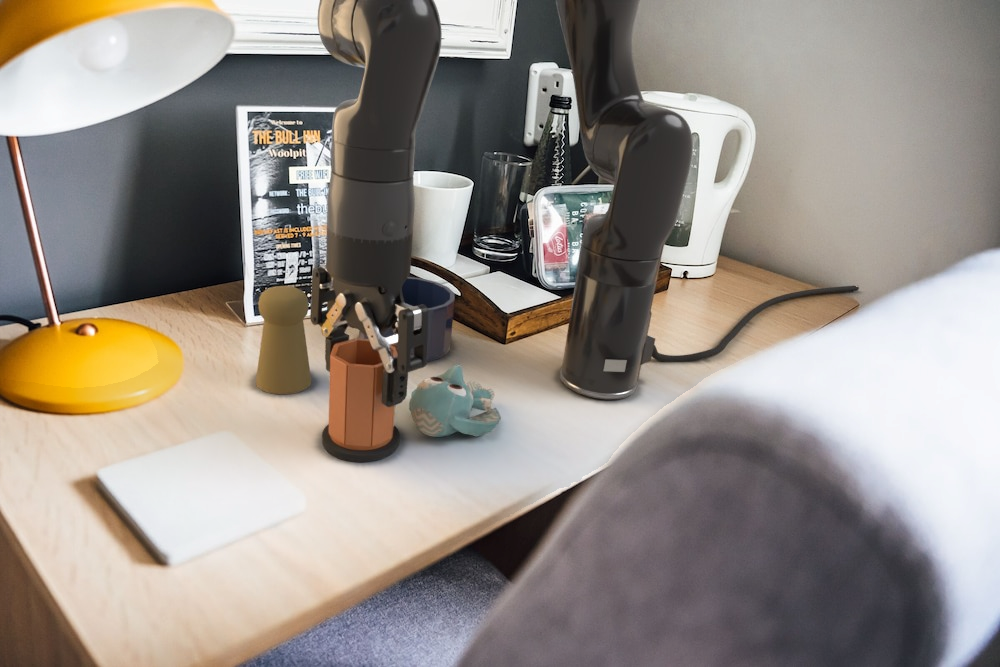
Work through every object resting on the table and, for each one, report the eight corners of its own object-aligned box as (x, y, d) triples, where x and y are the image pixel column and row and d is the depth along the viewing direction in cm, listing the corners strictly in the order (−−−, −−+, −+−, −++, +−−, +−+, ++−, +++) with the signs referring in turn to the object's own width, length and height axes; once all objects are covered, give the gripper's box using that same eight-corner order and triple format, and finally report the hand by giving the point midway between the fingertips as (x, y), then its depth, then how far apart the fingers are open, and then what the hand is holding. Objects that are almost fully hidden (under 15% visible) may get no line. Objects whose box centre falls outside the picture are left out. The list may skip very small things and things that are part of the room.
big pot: (408, 318, 107) (412, 271, 104) (468, 348, 100) (473, 298, 97) (340, 338, 98) (342, 287, 96) (400, 371, 92) (404, 317, 89)
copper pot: (366, 411, 81) (370, 333, 77) (405, 436, 77) (411, 355, 73) (317, 430, 76) (318, 348, 73) (356, 458, 73) (359, 372, 69)
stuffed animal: (533, 371, 83) (476, 390, 73) (519, 432, 85) (461, 459, 74) (452, 341, 88) (387, 355, 78) (440, 399, 90) (375, 421, 79)
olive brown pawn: (297, 398, 83) (297, 304, 79) (245, 388, 84) (243, 294, 80) (320, 375, 89) (322, 285, 84) (271, 365, 89) (270, 276, 85)
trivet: (367, 414, 82) (367, 407, 81) (415, 444, 77) (415, 437, 77) (306, 437, 76) (306, 430, 76) (354, 471, 72) (354, 464, 72)
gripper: (457, 239, 66) (442, 404, 73) (354, 200, 75) (349, 350, 81) (390, 253, 61) (381, 429, 68) (287, 209, 69) (287, 369, 76)
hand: (363, 386), depth 74 cm, fingers open, 8 cm apart
